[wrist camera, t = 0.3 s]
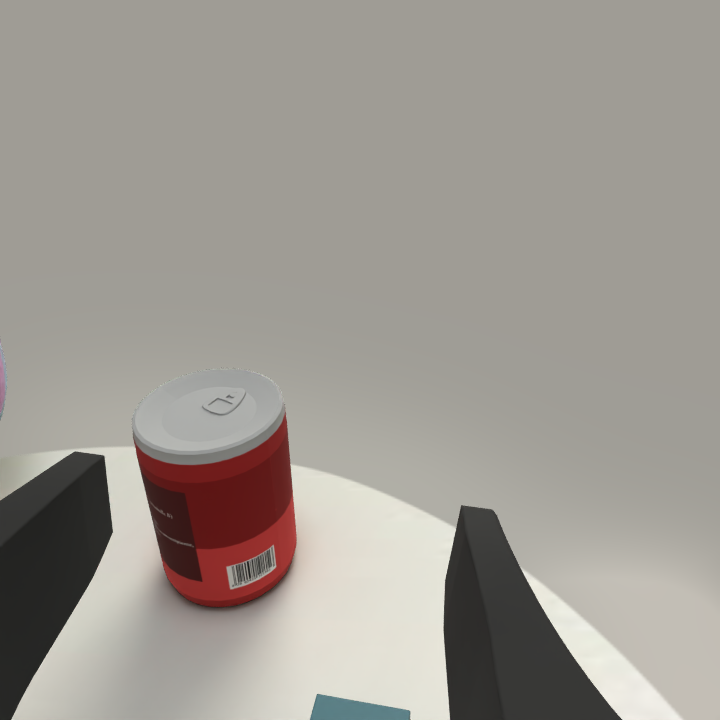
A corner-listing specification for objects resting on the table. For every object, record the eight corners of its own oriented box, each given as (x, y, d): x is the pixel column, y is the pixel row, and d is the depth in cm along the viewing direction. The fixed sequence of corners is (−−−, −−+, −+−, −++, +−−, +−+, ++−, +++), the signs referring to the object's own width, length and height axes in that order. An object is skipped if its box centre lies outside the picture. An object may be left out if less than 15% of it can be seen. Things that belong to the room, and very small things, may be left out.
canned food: (315, 524, 43) (305, 376, 38) (265, 627, 37) (243, 467, 31) (206, 501, 45) (181, 357, 40) (139, 595, 39) (98, 439, 33)
